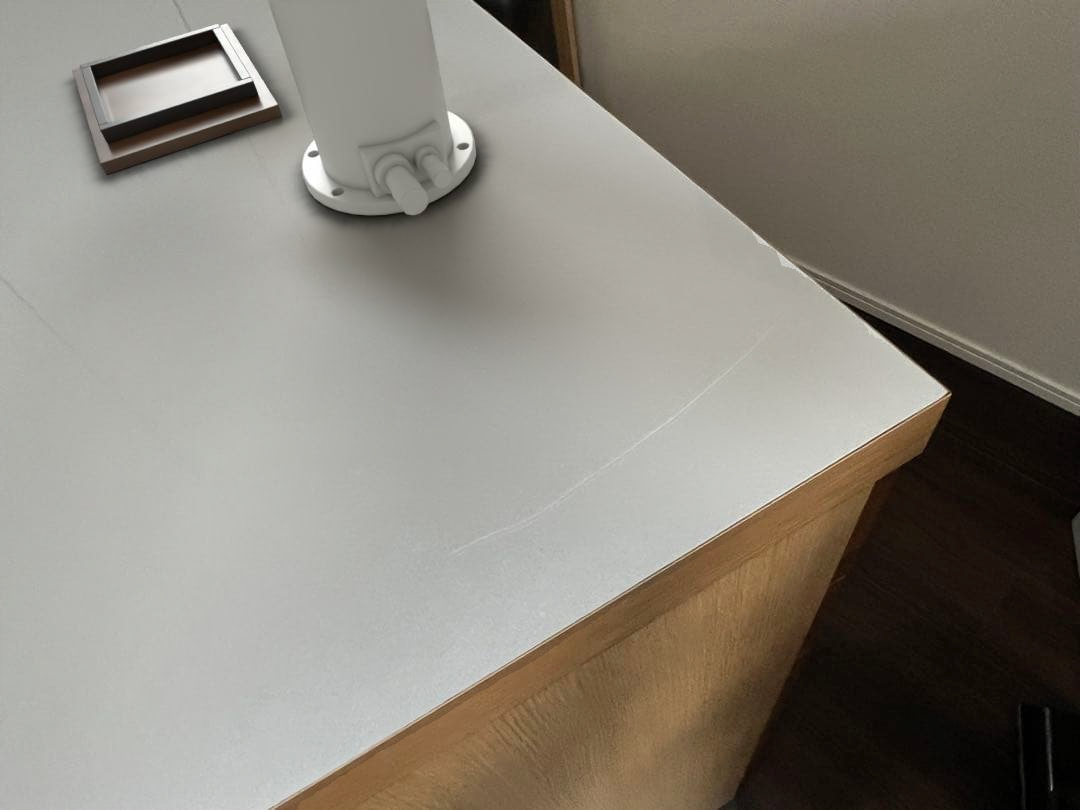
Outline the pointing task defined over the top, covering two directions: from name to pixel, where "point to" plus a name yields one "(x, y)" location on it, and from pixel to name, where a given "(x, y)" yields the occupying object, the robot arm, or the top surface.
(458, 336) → the top surface
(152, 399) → the top surface
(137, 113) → the rectangular tray
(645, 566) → the top surface
